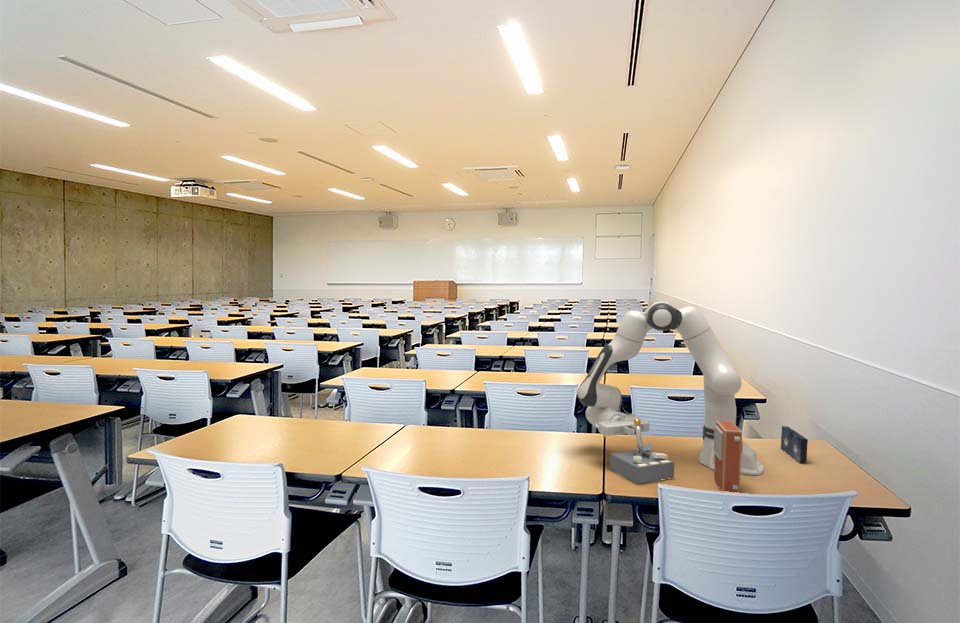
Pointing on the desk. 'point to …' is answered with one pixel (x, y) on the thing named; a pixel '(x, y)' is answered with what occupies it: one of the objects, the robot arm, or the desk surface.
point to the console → (641, 466)
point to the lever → (639, 435)
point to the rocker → (660, 455)
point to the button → (637, 459)
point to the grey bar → (647, 447)
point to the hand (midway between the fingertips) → (636, 432)
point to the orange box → (727, 455)
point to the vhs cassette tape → (794, 444)
